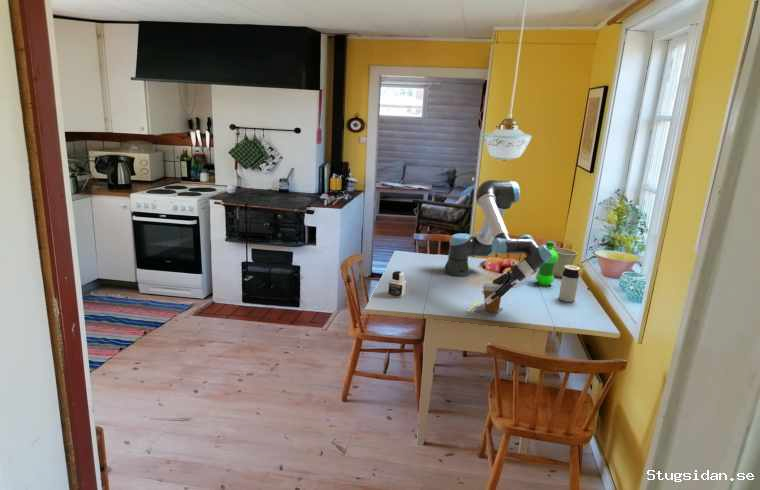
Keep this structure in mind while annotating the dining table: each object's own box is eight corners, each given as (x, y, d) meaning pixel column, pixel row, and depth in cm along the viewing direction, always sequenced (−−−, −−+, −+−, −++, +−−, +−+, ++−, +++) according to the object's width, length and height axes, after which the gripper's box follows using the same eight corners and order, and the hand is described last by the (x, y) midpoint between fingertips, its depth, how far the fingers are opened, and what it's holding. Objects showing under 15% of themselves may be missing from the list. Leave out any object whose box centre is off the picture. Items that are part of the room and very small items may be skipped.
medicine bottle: (387, 295, 245) (389, 273, 242) (392, 291, 251) (394, 269, 248) (401, 298, 242) (403, 275, 239) (405, 293, 249) (407, 271, 246)
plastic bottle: (557, 286, 276) (564, 244, 270) (541, 287, 272) (548, 245, 266) (545, 281, 285) (552, 240, 279) (530, 281, 281) (537, 240, 275)
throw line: (466, 311, 230) (466, 311, 230) (477, 302, 244) (477, 301, 243) (468, 312, 230) (468, 311, 230) (480, 302, 243) (480, 302, 243)
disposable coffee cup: (501, 308, 235) (502, 284, 233) (502, 313, 225) (503, 287, 224) (481, 307, 236) (482, 282, 235) (481, 311, 227) (482, 286, 226)
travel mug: (574, 303, 251) (580, 270, 246) (558, 300, 253) (564, 268, 249) (574, 298, 258) (580, 266, 254) (558, 295, 261) (563, 264, 256)
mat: (474, 311, 231) (474, 310, 231) (483, 304, 241) (483, 303, 241) (494, 316, 226) (494, 315, 226) (502, 309, 236) (502, 308, 236)
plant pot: (556, 280, 288) (560, 254, 284) (542, 272, 302) (546, 247, 298) (577, 279, 292) (582, 254, 287) (563, 272, 305) (567, 247, 301)
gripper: (531, 284, 216) (492, 312, 222) (522, 268, 239) (486, 295, 244) (520, 271, 215) (481, 300, 221) (512, 257, 238) (477, 284, 243)
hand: (484, 297), depth 232 cm, fingers open, 11 cm apart
